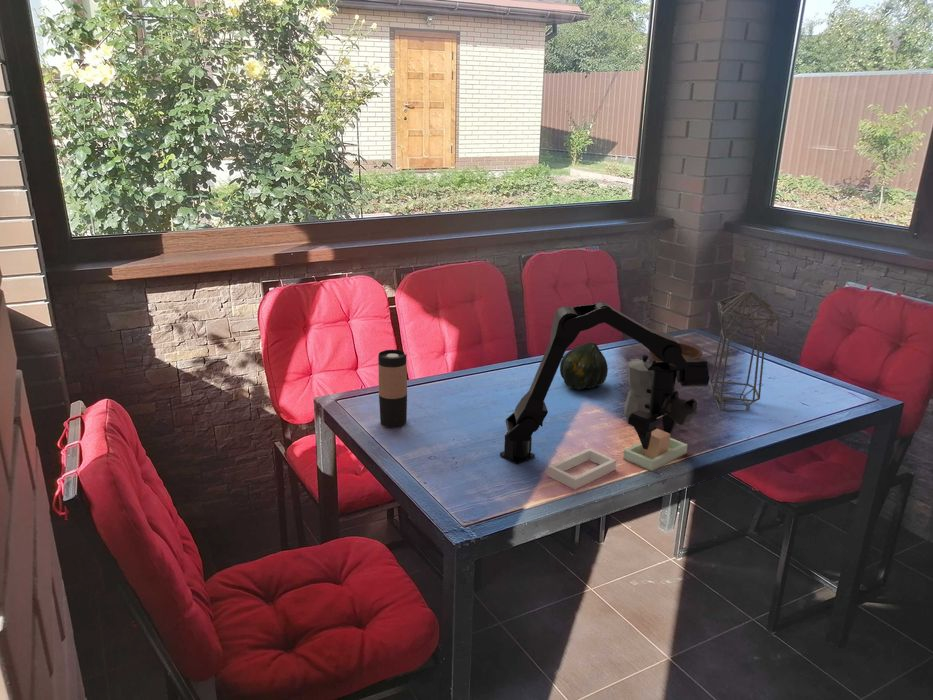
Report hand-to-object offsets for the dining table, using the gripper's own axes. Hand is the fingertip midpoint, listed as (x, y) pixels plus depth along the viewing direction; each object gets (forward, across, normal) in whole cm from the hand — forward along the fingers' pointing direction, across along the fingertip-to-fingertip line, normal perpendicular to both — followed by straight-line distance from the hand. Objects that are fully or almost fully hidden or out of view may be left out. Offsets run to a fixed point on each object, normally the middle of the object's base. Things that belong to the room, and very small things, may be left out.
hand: (656, 443), depth 186 cm
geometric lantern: (+4, +45, +4) cm, 45 cm away
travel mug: (+4, -39, +58) cm, 70 cm away
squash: (+4, +23, +43) cm, 49 cm away
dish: (+4, +64, +37) cm, 74 cm away
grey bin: (+4, -21, +6) cm, 22 cm away
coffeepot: (+4, +18, +17) cm, 25 cm away
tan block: (+3, 0, 0) cm, 3 cm away
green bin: (+4, 0, 0) cm, 4 cm away
